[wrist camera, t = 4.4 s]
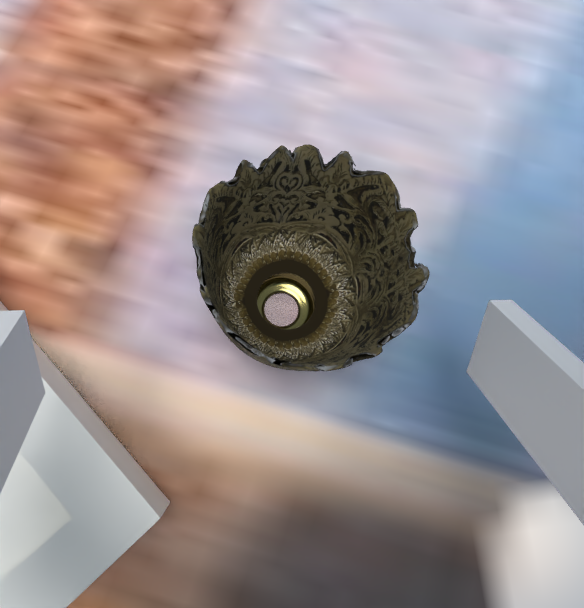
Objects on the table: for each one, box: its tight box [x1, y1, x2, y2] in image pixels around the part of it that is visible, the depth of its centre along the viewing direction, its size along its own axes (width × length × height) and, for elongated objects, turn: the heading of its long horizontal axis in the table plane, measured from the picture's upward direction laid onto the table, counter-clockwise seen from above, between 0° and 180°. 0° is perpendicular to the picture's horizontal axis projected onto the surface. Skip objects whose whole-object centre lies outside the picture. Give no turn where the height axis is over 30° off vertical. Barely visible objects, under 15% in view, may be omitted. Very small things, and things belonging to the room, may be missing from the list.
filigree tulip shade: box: [192, 145, 430, 371], centre depth 18 cm, size 8×7×8 cm
